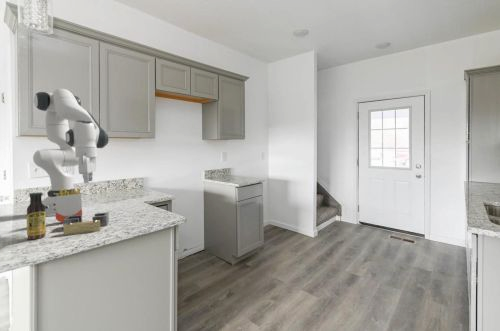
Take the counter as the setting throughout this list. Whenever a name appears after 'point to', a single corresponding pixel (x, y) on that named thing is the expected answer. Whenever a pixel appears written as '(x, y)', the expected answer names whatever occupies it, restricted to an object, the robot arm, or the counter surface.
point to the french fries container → (68, 204)
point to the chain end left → (72, 219)
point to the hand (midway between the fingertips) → (88, 181)
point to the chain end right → (102, 218)
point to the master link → (82, 227)
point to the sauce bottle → (36, 217)
